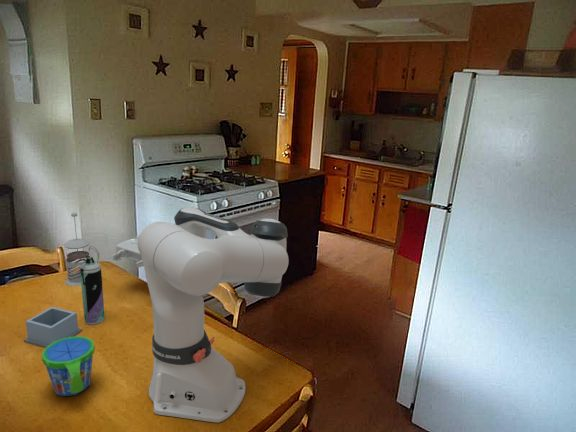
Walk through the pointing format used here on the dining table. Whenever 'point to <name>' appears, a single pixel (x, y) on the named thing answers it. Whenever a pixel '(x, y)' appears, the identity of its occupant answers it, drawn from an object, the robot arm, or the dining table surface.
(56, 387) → the snack cup
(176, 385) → the robot arm
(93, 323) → the spray can
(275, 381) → the dining table surface
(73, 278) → the french press
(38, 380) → the dining table surface
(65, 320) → the collar stand
